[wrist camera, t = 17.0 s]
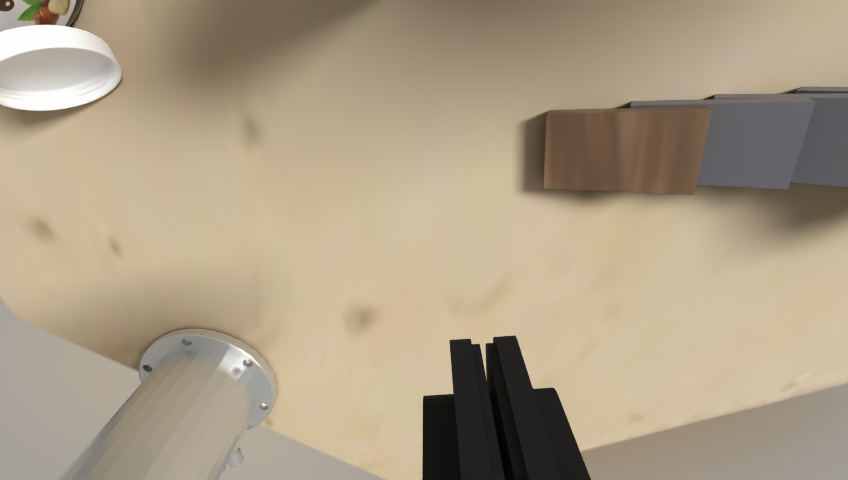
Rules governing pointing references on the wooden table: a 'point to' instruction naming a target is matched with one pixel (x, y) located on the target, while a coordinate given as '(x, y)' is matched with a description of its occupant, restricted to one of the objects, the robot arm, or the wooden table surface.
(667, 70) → the wooden table surface
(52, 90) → the spread jar
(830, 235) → the wooden table surface
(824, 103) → the domino
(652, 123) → the domino
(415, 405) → the wooden table surface
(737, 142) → the domino
